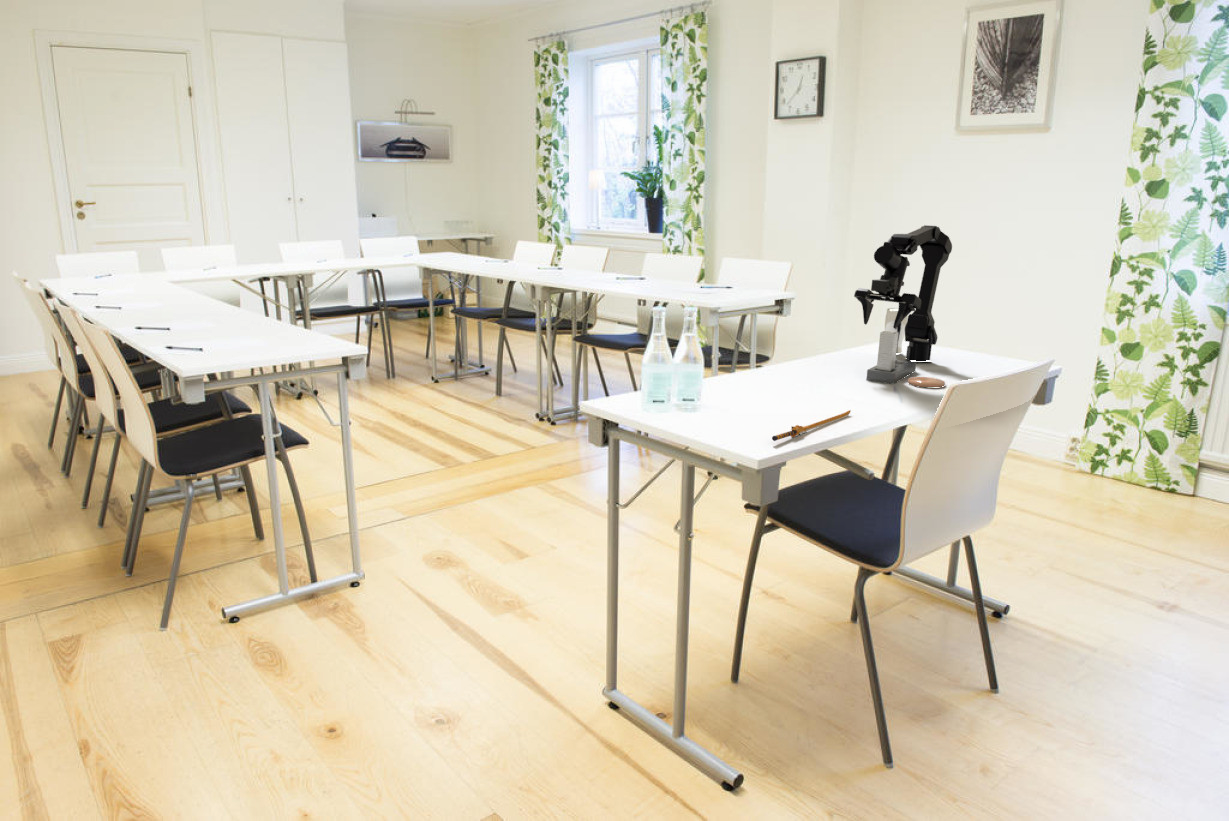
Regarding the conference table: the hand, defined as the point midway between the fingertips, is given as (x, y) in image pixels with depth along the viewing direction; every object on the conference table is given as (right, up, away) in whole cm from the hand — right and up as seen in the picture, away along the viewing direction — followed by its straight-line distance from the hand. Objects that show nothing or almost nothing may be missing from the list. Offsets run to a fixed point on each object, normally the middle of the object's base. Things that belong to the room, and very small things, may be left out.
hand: (879, 326), depth 252 cm
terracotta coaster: (+12, -17, -6) cm, 22 cm away
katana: (-31, -29, -52) cm, 67 cm away
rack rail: (+5, -14, +4) cm, 16 cm away
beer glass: (+16, -6, +37) cm, 41 cm away
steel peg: (+1, -16, -1) cm, 16 cm away
